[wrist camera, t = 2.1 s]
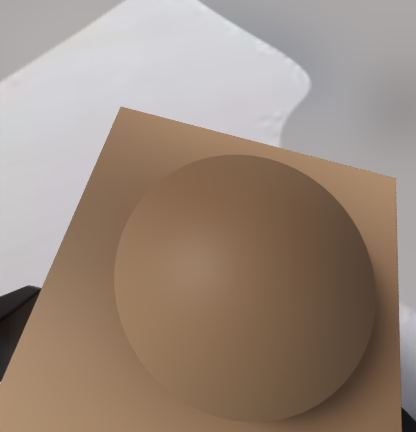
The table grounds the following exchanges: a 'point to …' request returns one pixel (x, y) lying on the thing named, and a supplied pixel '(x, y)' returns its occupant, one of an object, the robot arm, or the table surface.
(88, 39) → the table surface
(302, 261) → the walnut column
